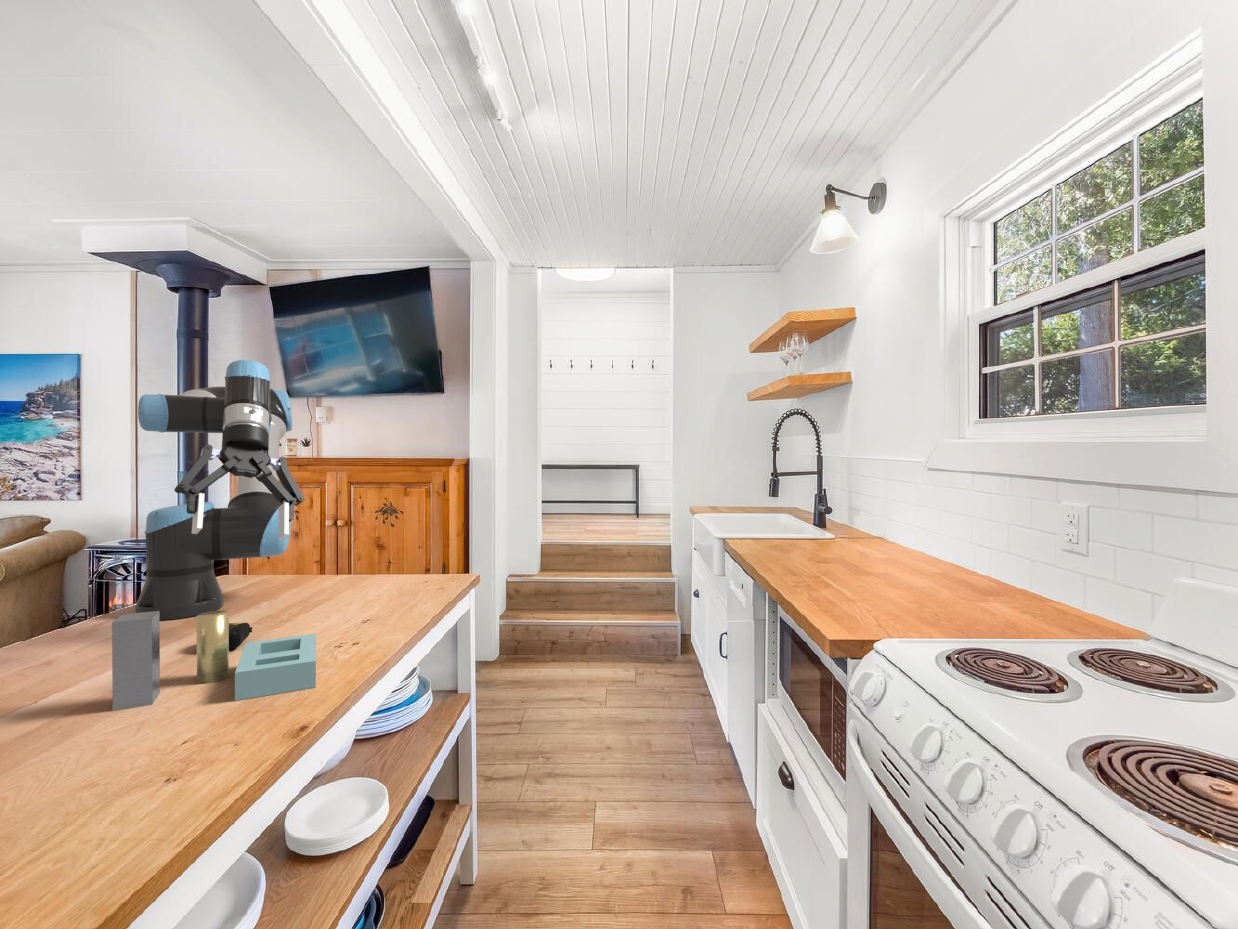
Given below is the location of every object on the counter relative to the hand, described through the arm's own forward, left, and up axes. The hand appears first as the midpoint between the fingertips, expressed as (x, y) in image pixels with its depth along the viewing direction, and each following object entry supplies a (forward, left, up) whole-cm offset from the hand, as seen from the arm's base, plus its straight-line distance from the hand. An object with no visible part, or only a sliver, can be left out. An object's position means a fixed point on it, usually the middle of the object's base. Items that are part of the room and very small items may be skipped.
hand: (242, 534), depth 100 cm
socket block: (+19, +7, -20) cm, 28 cm away
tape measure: (-1, -2, -21) cm, 21 cm away
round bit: (+15, -2, -20) cm, 25 cm away
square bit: (+20, -10, -20) cm, 30 cm away
